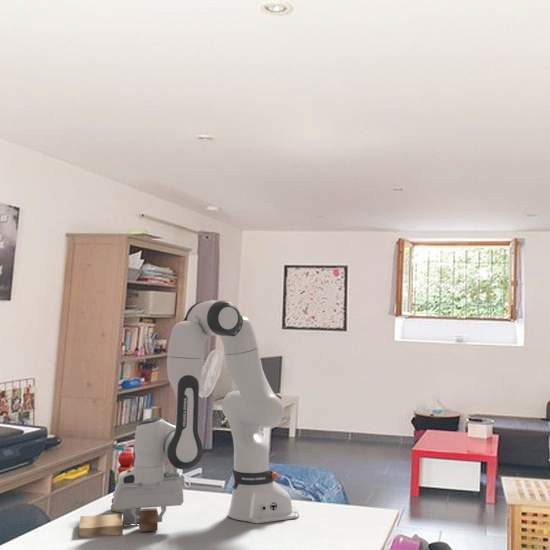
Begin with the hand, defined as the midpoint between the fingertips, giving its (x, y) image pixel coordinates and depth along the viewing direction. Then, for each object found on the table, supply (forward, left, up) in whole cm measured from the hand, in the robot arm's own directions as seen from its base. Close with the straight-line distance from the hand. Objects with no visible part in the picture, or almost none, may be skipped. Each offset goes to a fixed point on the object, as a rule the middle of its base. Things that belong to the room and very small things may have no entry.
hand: (148, 522), depth 187 cm
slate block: (+4, -9, -2) cm, 10 cm away
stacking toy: (+6, -24, -3) cm, 25 cm away
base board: (+13, -4, -2) cm, 14 cm away
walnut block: (0, 0, -2) cm, 2 cm away
